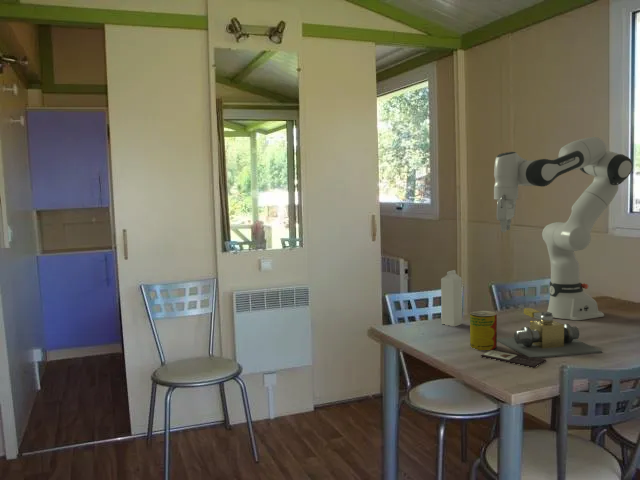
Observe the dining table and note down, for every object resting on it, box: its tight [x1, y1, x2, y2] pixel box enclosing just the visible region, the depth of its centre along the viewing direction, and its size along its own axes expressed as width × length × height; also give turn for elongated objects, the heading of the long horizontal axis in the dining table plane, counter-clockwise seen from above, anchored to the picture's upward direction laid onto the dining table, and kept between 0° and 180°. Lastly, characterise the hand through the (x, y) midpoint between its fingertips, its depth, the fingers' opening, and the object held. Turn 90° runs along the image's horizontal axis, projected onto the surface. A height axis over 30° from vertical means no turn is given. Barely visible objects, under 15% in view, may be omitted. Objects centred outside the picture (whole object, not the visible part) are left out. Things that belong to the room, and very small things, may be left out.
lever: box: [523, 307, 554, 323], centre depth 205 cm, size 15×4×3 cm, turn 10°
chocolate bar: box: [480, 348, 547, 368], centre depth 188 cm, size 9×1×18 cm
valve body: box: [513, 319, 580, 348], centre depth 201 cm, size 22×8×8 cm, turn 100°
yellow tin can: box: [469, 309, 498, 351], centre depth 202 cm, size 9×9×12 cm
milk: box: [440, 269, 463, 327], centre depth 234 cm, size 6×6×22 cm
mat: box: [497, 336, 603, 359], centre depth 201 cm, size 26×23×1 cm
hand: (505, 231), depth 222 cm, fingers open, 8 cm apart
